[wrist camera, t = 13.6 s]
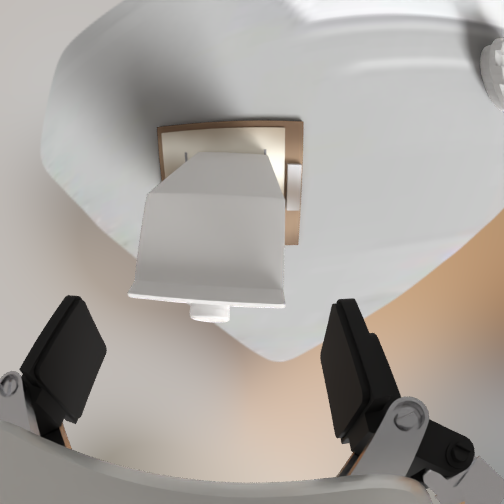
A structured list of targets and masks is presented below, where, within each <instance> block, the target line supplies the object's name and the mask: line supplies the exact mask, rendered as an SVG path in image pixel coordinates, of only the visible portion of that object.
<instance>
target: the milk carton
mask: <svg viewBox="0 0 504 504" xmlns="http://www.w3.org/2000/svg"><path fill="white" fill-rule="evenodd" d="M284 251H285V199H284V196H283V194H282V191H281V188H280V186H279V183H278V180H277V178H276V175H275V172H274V170H273V167H272V165H271V162H270V160H269V157H268V155H263V154H249V153H228V152H198V153H197V154H195V155H194V156H193V157H192V158H190V159H189V160H188V161H186V162H185V163H184V164H183V165H181V166H180V167H179V168H178V169H177V170H175V171H174V172H173V173H172V174H170V175H169V176H168V177H167V178H166V179H164V180H163V181H162V182H161V183H160V184H159V185H157V186H156V187H155V188H154V189H153V190H152V191H150V192H149V193H148V194H147V197H146V202H145V208H144V214H143V220H142V226H141V233H140V240H139V247H138V255H137V264H136V273H135V281H134V283H133V285H132V286H131V288H130V290H129V291H128V296H129V297H132V298H141V299H151V300H160V301H169V302H179V303H191V309H190V317H191V318H192V319H194V320H198V321H205V322H227V321H229V316H230V312H229V309H230V306H235V307H255V308H284V307H285V298H284V292H283V287H284Z"/></svg>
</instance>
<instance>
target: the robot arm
mask: <svg viewBox="0 0 504 504" xmlns="http://www.w3.org/2000/svg"><path fill="white" fill-rule="evenodd" d="M106 351H107V350H106V345H105V343H104V341H103V339H102V337H101V335H100V333H99V331H98V329H97V327H96V325H95V323H94V321H93V319H92V317H91V315H90V312H89V310H88V308H87V306H86V303H85V302H84V301H83V300H82V299H81V297H79V296H70V295H68V296H66V297H65V298H64V300H63V301H62V303H61V304H60V305H59V307H58V308H57V310H56V311H55V313H54V314H53V315H52V317H51V318H50V320H49V321H48V323H47V325H46V326H45V328H44V329H43V331H42V332H41V334H40V335H39V337H38V339H37V340H36V342H35V343H34V345H33V347H32V348H31V350H30V352H29V354H28V356H27V357H26V359H25V361H24V362H23V364H22V366H21V368H20V371H21V372H22V373H23V375H22V377H21V375H20V374H19V373H17V372H15V371H10V372H7V373H6V374H4V375H3V376H2V377H1V379H0V504H433V503H432V500H431V498H430V496H429V494H428V492H427V490H426V488H430V489H431V490H432V491H433V492H434V493H435V494H436V495H435V497H436V498H437V499H438V500H439V502H440V503H441V504H500V503H501V502H502V500H503V498H504V479H503V478H502V477H501V476H500V475H499V474H497V472H496V471H495V470H493V468H492V467H490V466H489V465H488V464H487V463H486V462H485V461H484V460H483V459H482V458H481V457H480V456H478V457H477V458H476V457H475V456H474V453H475V452H474V446H473V443H472V442H471V441H470V439H468V438H467V437H465V436H463V435H461V434H459V433H457V432H454V431H452V430H450V429H448V428H446V427H444V426H442V425H440V424H438V423H436V422H434V421H432V420H430V419H429V412H428V410H427V407H426V406H425V405H424V404H423V402H422V401H420V400H418V399H417V398H414V397H402V398H401V396H400V393H399V390H398V387H397V385H396V382H395V379H394V377H393V374H392V372H391V369H390V366H389V364H388V361H387V359H386V356H385V354H384V352H383V349H382V346H381V345H380V342H379V339H378V337H377V335H376V334H374V333H369V331H368V329H367V326H366V324H365V322H364V319H363V317H362V314H361V312H360V310H359V307H358V305H357V303H356V301H355V299H339V300H338V301H337V304H333V305H332V307H331V312H330V316H329V321H328V325H327V329H326V333H325V338H324V342H323V346H322V350H321V364H322V369H323V374H324V378H325V383H326V389H327V393H328V399H329V403H330V409H331V414H332V420H333V425H334V430H335V435H336V437H337V438H341V443H342V444H346V443H350V447H351V451H352V452H353V453H352V455H351V456H350V458H349V459H348V461H347V462H346V464H345V465H344V466H343V468H342V469H341V471H340V472H339V474H338V475H337V476H336V477H333V478H323V479H314V480H304V481H291V482H270V483H234V482H215V481H204V480H194V479H186V478H179V477H172V476H166V475H160V474H155V473H150V472H145V471H140V470H136V469H132V468H128V467H124V466H120V465H117V464H113V463H109V462H106V461H103V460H100V459H97V458H94V457H90V456H88V455H85V454H82V453H79V452H77V451H74V450H72V448H71V445H70V442H69V440H68V437H67V434H66V431H65V428H64V425H63V419H65V420H66V421H69V422H72V423H75V424H76V423H77V420H78V418H80V417H81V415H82V413H83V410H84V407H85V405H86V402H87V399H88V396H89V394H90V391H91V389H92V386H93V384H94V381H95V379H96V376H97V374H98V371H99V369H100V367H101V364H102V362H103V359H104V357H105V355H106Z"/></svg>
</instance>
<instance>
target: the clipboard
mask: <svg viewBox="0 0 504 504" xmlns="http://www.w3.org/2000/svg"><path fill="white" fill-rule="evenodd" d="M157 134H158V147H159V159H160V169H161V179H162V181H163V180H164V179H166V178H167V177H168V176H169V175H170V174H172V173H173V172H174V171H175V170H177V169H178V168H179V167H180V166H181V165H183V164H184V163H185V162H186V161H188V160H189V159H190V158H192V157H193V156H194V155H195V154H197V153H198V152H228V153H249V154H263V155H268V157H269V160H270V162H271V165H272V167H273V170H274V172H275V175H276V178H277V180H278V183H279V186H280V188H281V191H282V194H283V196H284V199H285V245H298V240H299V225H300V207H301V188H302V163H303V122H302V121H221V122H205V123H192V124H181V125H172V126H163V127H157Z"/></svg>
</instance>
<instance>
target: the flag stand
mask: <svg viewBox="0 0 504 504" xmlns="http://www.w3.org/2000/svg"><path fill="white" fill-rule="evenodd" d="M480 70H481V76H482V80H483V83H484V86H485V89H486V91H487V93H488V96H489V97H490V99H491V101H492V102H493V104H494V105H495V106H496V107H497V108H498V109H499V110H500V111H502V112H504V37H502V38H497V39H495V40H494V41H493V43H492V44H491V45H487V46H486V47H484V49H483V50H482V52H481V56H480Z"/></svg>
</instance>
